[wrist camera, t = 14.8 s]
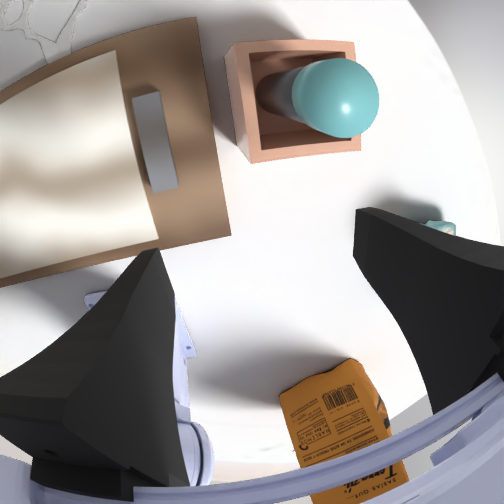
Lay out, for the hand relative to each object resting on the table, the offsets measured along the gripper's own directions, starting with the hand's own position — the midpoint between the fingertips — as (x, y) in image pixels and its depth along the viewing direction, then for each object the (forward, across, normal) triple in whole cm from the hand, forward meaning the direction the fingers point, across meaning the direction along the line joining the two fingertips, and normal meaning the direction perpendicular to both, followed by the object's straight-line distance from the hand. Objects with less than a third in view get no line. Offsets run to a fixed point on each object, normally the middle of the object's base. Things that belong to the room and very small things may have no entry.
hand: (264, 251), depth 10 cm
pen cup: (+10, -4, -5) cm, 12 cm away
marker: (+10, -4, -5) cm, 12 cm away
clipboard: (+10, +13, -3) cm, 17 cm away
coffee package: (+10, -8, +30) cm, 33 cm away
